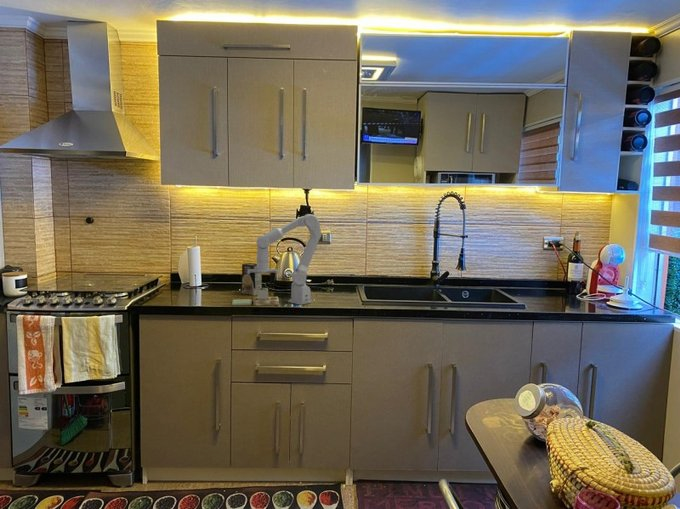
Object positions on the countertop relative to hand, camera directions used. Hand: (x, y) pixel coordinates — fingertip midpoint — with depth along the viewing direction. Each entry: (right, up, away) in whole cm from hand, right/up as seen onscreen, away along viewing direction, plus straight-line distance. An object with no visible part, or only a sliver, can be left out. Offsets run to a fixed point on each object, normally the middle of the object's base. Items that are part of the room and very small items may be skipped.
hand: (262, 288), depth 229 cm
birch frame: (+1, -7, +1) cm, 7 cm away
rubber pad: (-10, -7, 0) cm, 12 cm away
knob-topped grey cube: (0, -7, +1) cm, 7 cm away
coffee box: (-10, -5, +23) cm, 26 cm away
